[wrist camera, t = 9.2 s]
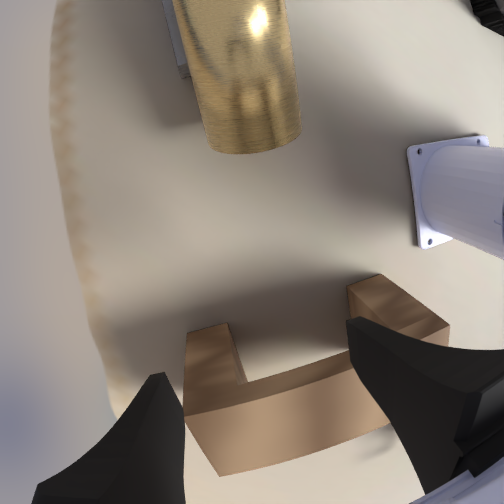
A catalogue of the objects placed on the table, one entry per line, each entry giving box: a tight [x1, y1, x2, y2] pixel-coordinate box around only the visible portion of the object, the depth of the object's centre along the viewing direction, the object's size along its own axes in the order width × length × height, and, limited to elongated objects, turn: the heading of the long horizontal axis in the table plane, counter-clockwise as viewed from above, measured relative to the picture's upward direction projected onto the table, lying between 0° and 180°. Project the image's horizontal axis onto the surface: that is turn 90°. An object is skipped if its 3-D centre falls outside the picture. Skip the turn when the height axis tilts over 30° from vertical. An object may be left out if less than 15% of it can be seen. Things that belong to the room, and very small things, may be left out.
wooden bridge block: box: [183, 274, 450, 477], centre depth 20 cm, size 15×6×8 cm, turn 104°
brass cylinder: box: [172, 0, 302, 154], centre depth 12 cm, size 5×12×5 cm, turn 15°
